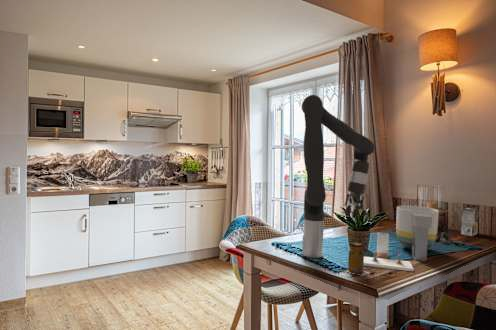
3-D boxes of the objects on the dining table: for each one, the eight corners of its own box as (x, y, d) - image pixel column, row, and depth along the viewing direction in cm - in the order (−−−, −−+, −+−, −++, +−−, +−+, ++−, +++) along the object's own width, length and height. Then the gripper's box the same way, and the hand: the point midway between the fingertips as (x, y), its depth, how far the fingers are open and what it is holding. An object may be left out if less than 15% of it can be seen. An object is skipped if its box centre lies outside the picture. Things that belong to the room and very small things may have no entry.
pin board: (363, 265, 152) (364, 254, 152) (362, 258, 162) (363, 247, 162) (413, 271, 147) (414, 259, 147) (409, 264, 157) (409, 252, 156)
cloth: (415, 239, 203) (416, 229, 203) (439, 237, 210) (439, 227, 210) (450, 250, 183) (450, 238, 182) (474, 247, 189) (475, 236, 189)
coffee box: (466, 232, 224) (467, 207, 223) (477, 234, 219) (479, 209, 218) (460, 234, 218) (462, 208, 217) (472, 236, 213) (473, 210, 212)
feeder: (412, 260, 162) (415, 215, 161) (409, 254, 171) (411, 212, 170) (429, 262, 160) (431, 217, 159) (425, 256, 169) (427, 213, 168)
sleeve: (377, 257, 165) (378, 234, 164) (376, 254, 169) (377, 232, 169) (387, 258, 163) (388, 235, 163) (386, 255, 168) (387, 233, 167)
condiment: (351, 268, 149) (353, 240, 149) (370, 273, 143) (372, 244, 143) (343, 272, 144) (345, 243, 143) (363, 277, 138) (364, 248, 137)
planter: (432, 257, 167) (435, 213, 166) (390, 249, 179) (392, 208, 178) (439, 249, 182) (441, 208, 181) (400, 242, 194) (402, 204, 193)
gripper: (344, 180, 167) (337, 214, 166) (356, 180, 153) (349, 216, 152) (358, 184, 168) (352, 217, 166) (372, 184, 153) (365, 220, 152)
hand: (350, 217), depth 159 cm, fingers open, 8 cm apart
